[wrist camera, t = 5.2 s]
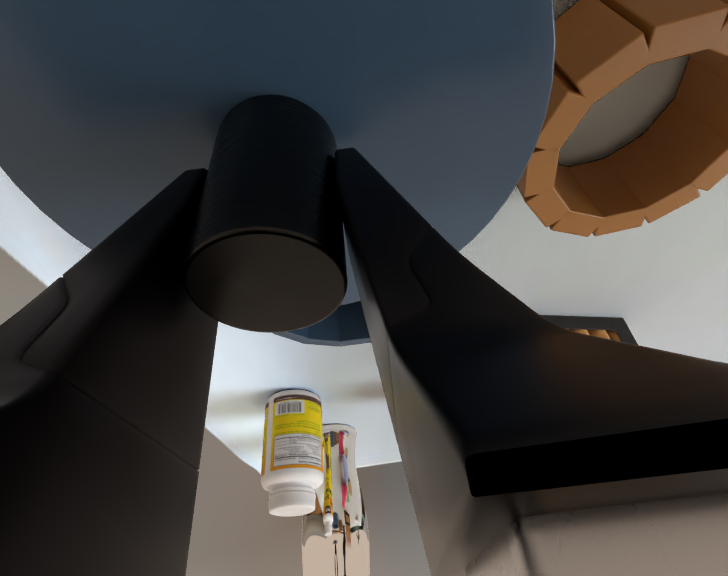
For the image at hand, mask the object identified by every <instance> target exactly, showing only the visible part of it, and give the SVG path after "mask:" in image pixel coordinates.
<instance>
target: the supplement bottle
mask: <svg viewBox="0 0 728 576" xmlns="http://www.w3.org/2000/svg"><path fill="white" fill-rule="evenodd" d="M323 479H324V472H323V440H322V410H321V401H320V399H319V397H318V396H317V395H315V394H314V393H312V392H309V391H305V390H285V391H281V392H278V393H276V394H274V395H272V396H271V397H270V398H269V399H268V400H267V402H266V408H265V424H264V439H263V455H262V471H261V485H262V487H263V488H264V489H265V490H266V491H268V492H270V494H269V513H270V514H271V515H275V516H298V515H305V514H308V513H311V512H313V511H314V510H315V499H316V495H315V490H314V489H316V488H318V487H319V486H320V485H321V484H322V482H323Z"/></svg>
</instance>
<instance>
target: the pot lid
mask: <svg viewBox="0 0 728 576" xmlns="http://www.w3.org/2000/svg"><path fill="white" fill-rule="evenodd" d="M555 47H556V32H555V15H554V0H0V166H1V168H2V169H3V170H4V171H5V173H6V174H7V175H8V176H9V177H10V179H11V180H12V181H13V182H14V184H15V185H16V186H17V187H18V188H19V189H20V190H21V191H22V192H23V193H24V194H25V195H26V196H27V197H28V198H29V199H30V200H31V201H32V202H33V203H34V204H35V205H36V206H37V207H38V208H39V209H40V210H41V211H42V212H43V213H45V214H46V215H47V216H48V217H49V218H51V219H52V220H53V221H54V222H55V223H57V224H58V225H59V226H60V227H61V228H63V229H64V230H65V231H66V232H67V233H69V234H70V235H71V236H73V237H74V238H76V239H77V240H79V241H80V242H81V243H83V244H84V245H86V246H87V247H89V248H90V249H91V250H93V249H94V248H95V247H96V246H97V245H98V244H100V243H101V242H102V241H103V240H104V239H106V238H107V237H108V236H109V235H110V234H111V233H113V232H114V231H115V230H116V229H117V228H119V227H120V226H121V225H122V224H123V223H124V222H126V221H127V220H128V219H129V218H130V217H131V216H133V215H134V214H135V213H136V212H137V211H139V210H140V209H141V208H142V207H143V206H144V205H146V204H147V203H148V202H149V201H150V200H151V199H153V198H154V197H155V196H156V195H157V194H159V193H160V192H161V191H162V190H163V189H164V188H166V187H167V186H168V185H169V184H170V183H171V182H173V181H174V180H175V179H176V178H177V177H179V176H180V175H181V174H182V173H183V172H184V171H187V170H192V169H199V168H205V169H206V170H208V172H207V176H206V180H205V183H204V187H203V191H202V195H201V199H200V203H199V207H198V211H197V215H196V218H195V222H194V226H193V230H192V234H191V238H190V242H189V246H188V250H187V253H186V257H185V261H184V265H183V271H182V278H183V284H184V287H185V289H186V292H187V294H188V296H189V297H190V299H191V300H192V302H193V303H194V304H195V305H196V306H197V307H198V308H199V309H200V310H201V311H203V312H204V313H205V314H207V315H208V316H210V317H212V318H213V319H215V320H217V321H219V322H221V323H224V324H226V325H229V326H232V327H235V328H239V329H243V330H248V331H255V332H268V333H270V332H287V331H293V330H298V329H302V328H305V327H308V326H311V325H314V324H316V323H318V322H320V321H322V320H324V319H325V318H327V317H328V316H329V315H331V314H332V313H333V312H334V311H335V310H336V309H337V308H338V307H339V305H345V304H349V303H353V302H357V301H361V300H360V297H359V293H358V289H357V285H356V281H355V277H354V273H353V269H352V266H351V262H350V257H349V253H348V247H347V242H346V236H345V231H344V225H343V219H342V214H341V209H340V204H339V198H338V193H337V187H336V180H335V156H334V153H335V151H336V150H337V149H344V148H351V147H353V148H355V149H356V150H357V151H358V152H359V153H360V154H361V155H362V156H363V157H364V158H365V159H366V160H367V161H368V162H369V163H370V164H371V165H372V166H373V167H374V168H375V169H376V170H377V171H378V172H379V173H380V174H381V175H382V176H383V177H384V178H385V179H386V180H387V181H388V182H389V183H390V184H391V185H392V186H393V187H394V188H395V189H396V190H397V191H398V192H399V193H400V194H401V195H402V196H403V197H404V198H405V199H406V200H407V201H408V202H409V203H410V204H411V205H412V206H413V207H414V208H415V210H416V211H417V212H418V213H419V214H420V215H421V216H422V217H423V218H424V219H425V220H426V221H427V222H428V223H429V224H430V225H431V226H432V228H434V229H435V230H436V231H437V232H438V233H439V234H440V235H441V236H442V237H443V238H444V239H445V240H446V241H447V242H449V243H450V244H451V245H452V246H453V247H454V248H455V249H456V250H457V251H460V250H461V249H462V248H463V247H464V246H466V245H467V244H468V243H469V242H470V241H472V240H473V239H474V238H475V236H476V235H477V234H478V233H479V232H480V231H481V230H482V229H483V228H484V227H485V226H486V225H487V224H488V223H489V222H490V221H491V220H492V218H493V217H494V216H495V215H496V213H497V212H498V211H499V210H500V208H501V207H502V206H503V204H504V203H505V202H506V201H507V199H508V198H509V196H510V194H511V193H512V191H513V190H514V188H515V186H516V185H517V183H518V182H519V180H520V178H521V177H522V175H523V173H524V171H525V169H526V166H527V164H528V162H529V160H530V158H531V156H532V154H533V152H534V150H535V147H536V144H537V141H538V138H539V135H540V132H541V129H542V126H543V123H544V120H545V117H546V113H547V108H548V103H549V98H550V93H551V89H552V84H553V75H554V61H555Z"/></svg>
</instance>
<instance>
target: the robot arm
mask: <svg viewBox="0 0 728 576" xmlns="http://www.w3.org/2000/svg"><path fill="white" fill-rule="evenodd" d="M334 156H335V180H336V187H337V193H338V198H339V204H340V209H341V214H342V219H343V225H344V231H345V236H346V242H347V247H348V253H349V257H350V262H351V266H352V269H353V273H354V277H355V281H356V285H357V289H358V293H359V297H360V300H361V304H362V308H363V312H364V316H365V320H366V324H367V327H368V331H369V335H370V339H371V343H372V347H373V351H374V355H375V358H376V362H377V366H378V370H379V374H380V378H381V382H382V385H383V389H384V393H385V397H386V401H387V405H388V409H389V413H390V416H391V420H392V424H393V428H394V432H395V436H396V440H397V443H398V446H399V451H400V455H401V459H402V463H403V467H404V471H405V474H406V478H407V482H408V486H409V490H410V494H411V497H412V502H413V505H414V509H415V513H416V517H417V521H418V525H419V528H420V532H421V536H422V540H423V544H424V548H425V551H426V556H427V559H428V563H429V567H430V571H431V576H728V363H722V362H716V361H711V360H706V359H701V358H696V357H692V356H687V355H682V354H677V353H672V352H668V351H663V350H658V349H653V348H648V347H644V346H639V345H634V344H629V343H624V342H620V341H615V340H610V339H605V338H600V337H596V336H591V335H586V334H581V333H577V332H573V331H570V330H567V329H564V328H562V327H560V326H558V325H556V324H554V323H552V322H550V321H548V320H547V319H545V318H543V317H542V316H540V315H539V314H537V313H536V312H535V311H533V310H532V309H531V308H529V307H528V306H527V305H525V304H524V303H523V302H521V301H520V300H519V299H517V298H516V297H515V296H514V295H512V294H511V293H510V292H508V291H507V290H506V289H504V288H503V287H502V286H501V285H499V284H498V283H497V282H495V281H494V280H493V279H491V278H490V277H489V276H488V275H486V274H485V273H484V272H482V271H481V270H480V269H479V268H477V267H476V266H475V265H474V264H472V263H471V262H470V261H469V260H468V259H466V258H465V257H464V256H463V255H461V254H460V253H459V252H458V251H457V250H456V249H455V248H454V247H453V246H452V245H451V244H450V243H449V242H447V241H446V240H445V239H444V238H443V237H442V236H441V235H440V234H439V233H438V232H437V231H436V230H435V229H434V228H432V226H431V225H430V224H429V223H428V222H427V221H426V220H425V219H424V218H423V217H422V216H421V215H420V214H419V213H418V212H417V211H416V210H415V208H414V207H413V206H412V205H411V204H410V203H409V202H408V201H407V200H406V199H405V198H404V197H403V196H402V195H401V194H400V193H399V192H398V191H397V190H396V189H395V188H394V187H393V186H392V185H391V184H390V183H389V182H388V181H387V180H386V179H385V178H384V177H383V176H382V175H381V174H380V173H379V172H378V171H377V170H376V169H375V168H374V167H373V166H372V165H371V164H370V163H369V162H368V161H367V160H366V159H365V158H364V157H363V156H362V155H361V154H360V153H359V152H358V151H357V150H356V149H355V148H353V147H351V148H344V149H337V150H336V151H335V153H334ZM207 172H208V170H206V169H205V168H199V169H192V170H187V171H184V172H183V173H182V174H181V175H180V176H179V177H177V178H176V179H175V180H174V181H173V182H171V183H170V184H169V185H168V186H167V187H166V188H164V189H163V190H162V191H161V192H160V193H159V194H157V195H156V196H155V197H154V198H153V199H151V200H150V201H149V202H148V203H147V204H146V205H144V206H143V207H142V208H141V209H140V210H139V211H137V212H136V213H135V214H134V215H133V216H131V217H130V218H129V219H128V220H127V221H126V222H124V223H123V224H122V225H121V226H120V227H119V228H117V229H116V230H115V231H114V232H113V233H111V234H110V235H109V236H108V237H107V238H106V239H104V240H103V241H102V242H101V243H100V244H98V245H97V246H96V247H95V248H94V249H93V250H91V251H90V252H89V253H88V254H87V255H86V256H84V257H83V258H82V259H81V260H80V261H78V262H77V263H76V264H75V265H74V266H73V267H71V268H70V269H69V270H68V271H67V272H66V273H64V274H63V278H62V277H60V278H58V279H57V280H56V281H55V282H54V283H52V284H51V285H50V286H49V287H48V288H47V289H45V290H44V291H43V292H42V293H41V294H39V295H38V296H37V297H36V298H35V299H33V300H32V301H31V302H30V303H28V304H27V305H26V306H25V307H24V308H22V309H21V310H20V311H19V312H17V313H16V314H15V315H13V316H12V317H11V318H10V319H8V320H7V321H6V322H5V323H3V324H2V325H0V576H185V574H186V567H187V559H188V550H189V544H190V535H191V528H192V520H193V513H194V505H195V497H196V490H197V482H198V474H199V472H198V471H197V470H198V469H199V464H200V457H201V449H202V441H203V434H204V426H205V419H206V411H207V403H208V396H209V388H210V380H211V372H212V365H213V357H214V349H215V342H216V334H217V326H218V321H217V320H215V319H213V318H212V317H210V316H208V315H207V314H205V313H204V312H203V311H201V310H200V309H199V308H198V307H197V306H196V305H195V304H194V303H193V302H192V300H191V299H190V297H189V296H188V294H187V292H186V289H185V287H184V284H183V278H182V271H183V265H184V261H185V257H186V253H187V250H188V246H189V242H190V238H191V234H192V230H193V226H194V222H195V218H196V215H197V211H198V207H199V203H200V199H201V195H202V191H203V187H204V183H205V180H206V176H207Z"/></svg>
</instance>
